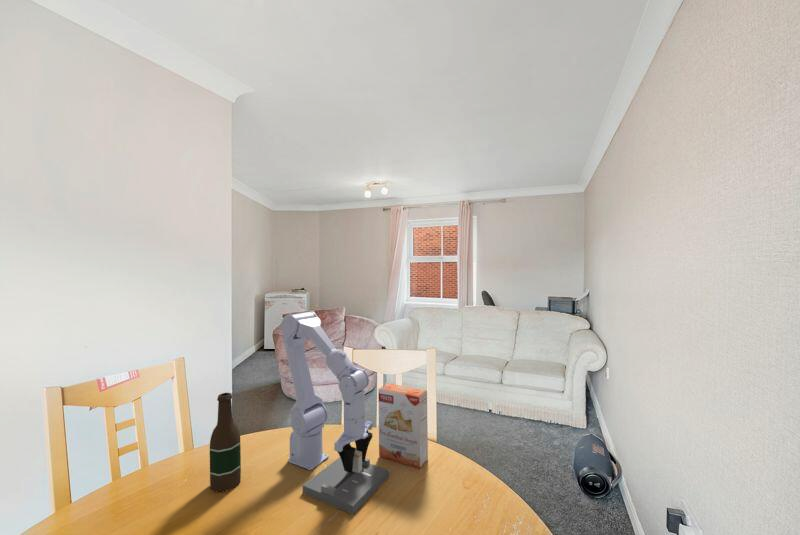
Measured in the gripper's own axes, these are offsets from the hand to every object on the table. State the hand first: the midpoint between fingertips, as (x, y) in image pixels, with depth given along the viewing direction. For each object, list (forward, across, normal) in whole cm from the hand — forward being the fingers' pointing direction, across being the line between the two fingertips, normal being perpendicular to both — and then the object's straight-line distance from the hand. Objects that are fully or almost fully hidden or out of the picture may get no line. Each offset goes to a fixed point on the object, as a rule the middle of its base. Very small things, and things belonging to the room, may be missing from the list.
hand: (354, 465), depth 93 cm
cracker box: (+4, +15, -7) cm, 17 cm away
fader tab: (+1, 0, 0) cm, 1 cm away
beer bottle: (+4, -18, +29) cm, 35 cm away
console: (+3, -3, 0) cm, 5 cm away
